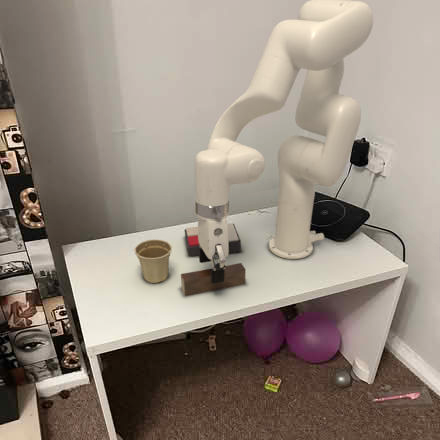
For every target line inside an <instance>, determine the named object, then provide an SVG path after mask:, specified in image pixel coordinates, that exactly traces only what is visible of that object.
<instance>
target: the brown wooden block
mask: <svg viewBox="0 0 440 440" xmlns="http://www.w3.org/2000/svg"><path fill="white" fill-rule="evenodd" d="M246 273H247V272H246V268H245V266H244V265H243V263H242V262H238V263H233V264H228V265H226V266H225V272H224V282H219V283H213V284H212V283H211V268H207V269H206V268H205V269H200V270H194V271H191V272H185V273H181V274H180V282H181V284H180V285H181V290H182V293H183V295H184V296H185V297H187V296H193V295H198V294H202V293H206V292H207V293H208V292H212V291H217V290H222V289H227V288H232V287H237V286H243V285H246Z"/></svg>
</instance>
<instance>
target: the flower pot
mask: <svg viewBox="0 0 440 440" xmlns="http://www.w3.org/2000/svg"><path fill="white" fill-rule="evenodd" d="M133 251H134V255H136V257H137V260H138V261H139V264H140V268H141V272H142V275H143V279H144V280H145V281H146V282H148V283H151V284H159V283H160V282H164V281H166V279H167V278H168V277H169V264H170V256H171V253H172V251H173V246H172V244H171V243H169V242H168V241H166V240H162V239H147V240H143V241H141V242H139V243H138V244H136V246H135V247H134V250H133Z"/></svg>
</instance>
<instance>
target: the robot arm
mask: <svg viewBox="0 0 440 440" xmlns="http://www.w3.org/2000/svg"><path fill="white" fill-rule="evenodd" d="M297 16H298V17H297V19H284V20H281V21H279V22H278V23H277V24H276V25H275V26H274V27H273V29H272V31H271V33H270V35H269V38H268V40H267V42H266V45H265V46H264V50H263V52H262V54H261V57H260V59H259V62H258V64H257V66H256V69H255V72H254V74H253V76H252V79H251V82H250V83H249V86H248V88H247V90H246V91H245V92H244V93H243V94H241V96H239V97H238V98H237V99H236V100H234V102H232V103H231V104H230V106H229V107H227V108H226V109H225V111H223V113H222V114H221V116H220V117H219V118H218V120H217V122H216V123H215V126H214V128H213V131H212V133H211V135H210V138H209V140H208V143H207V144H208V145H207V147H206V149H205V150H201V151H199V152H198V153H197V154H196V155H195V158H194V206H195V208H194V211H195V213H194V214H195V216H196V217H197V227H198V240H199V247H200V248H199V255H198V260H199V263H201V264H202V263H209V262H211V268H210V269H211V283H212V284H213V283H219V282H224V272H225V266H227V265H226V262H227V258H228V257H229V254H230V253H229V248H228V224H229V223H228V218H227V217H228V216H229V213H230V212H229V210H230V207H229V206H230V186H231V185H241V184H249V183H252V182H254V181H256V180H257V179H259V178H260V177H261V176H262V175H263V173H264V170H265V166H266V162H265V161H266V160H265V157H264V156H263V154H262V153H261V152H260V151H259V150H257V149H255V148H253V147H251V146H247V145H245V144H242V143H240V142H237V139H238V137H239V135H240V133H241V132H242V131H243V129H244V128H245V127H246V126H247V125H248V124H249V123H251V122H252V121H254V120H256V119H258V118H260V117H262V116H265V115H269V114H271V113H275V112H277V111H281V110H282V109H283V108H284V107H285V104H286V102H287V100H288V97H289V95H290V93H291V90H292V89H293V86H294V84H295V81H296V79H297V77H298V75H299V73H300V70H301V69H303V70H306V73H305V77H304V81H303V84H302V88H301V92H300V94H299V99H298V103H297V106H296V110H295V117H294V119H295V124H296V126H297V127H299V129H301V130H303V131H307V132H309V133H312V134H315V135H318V136H322V137H325V140H324V141H325V142H324V141H320V140H317V139H315V138H312V137H309V136H303V135H291V136H289V137H286V138H285V139H284V140H283V141H282V142H281V144H280V145H279V148H278V151H277V167H278V175H279V178H278V181H279V183H278V195H277V197H278V198H277V206H276V207H277V209H276V221H275V231H274V232H275V233H274V236H273V237H272V238H270V240H269V242H268V249H269V250H270V252H271V253H272V254H274V255H275V256H277V257H280V258H283V259H288V260H297V259H304V258H306V257H308V256H309V255H311V254H312V252H313V250H314V245H313V243H314V242H316V241H323V240H324V239H325V235H324V233H323V232H320V233H316V230H311V225H312V224H311V223H312V216H313V210H314V202H315V196H316V188H315V184H317V185H319V186H322V187H332V186H333V185H335V184H336V183H337V182H339V180H340V179H341V177H342V176H343V173H344V171H345V169H346V166H347V164H348V161H349V157H350V154H351V152H352V149H353V146H354V143H355V141H356V137H357V134H358V131H359V127H360V124H361V119H362V118H361V117H362V110H361V106H360V104H359V102H358V101H357V100H356V98H354V97H351V96H348V95H344V94H340V93H339V92H340V88H341V84H342V81H343V77H344V73H345V61H344V59H345V58H346V57H347V56H350V55H351V54H353V53H354V52H356V51H358V50H359V49H360V48H361V47H362V46H363V45H364V43H366V42H367V40H368V38H369V36H370V35H371V32H372V30H373V27H374V26H373V25H374V14H373V11H372V9H371V7H370V6H369V5H368V3H366V2H364V1H360V0H307V1H306V2H304V3H303V5H301V7H300V9H299V12H298V15H297ZM214 255H215V256H214ZM216 260H218V262H217V263H216Z"/></svg>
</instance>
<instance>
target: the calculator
mask: <svg viewBox="0 0 440 440" xmlns="http://www.w3.org/2000/svg"><path fill="white" fill-rule="evenodd" d="M227 224H228V248H229V254H234V253H240V252H241V251H242V250H241V249H242V245H241V244H242V243H241V238H240V235H239V233H238V231H237V228H236V225H235V223H233V222H229V223H227ZM184 237H185V242H186V248H187V254H188V257H196V256H199V248H200V247H199V240H198V226H191V227H186V228H185V229H184Z"/></svg>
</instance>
